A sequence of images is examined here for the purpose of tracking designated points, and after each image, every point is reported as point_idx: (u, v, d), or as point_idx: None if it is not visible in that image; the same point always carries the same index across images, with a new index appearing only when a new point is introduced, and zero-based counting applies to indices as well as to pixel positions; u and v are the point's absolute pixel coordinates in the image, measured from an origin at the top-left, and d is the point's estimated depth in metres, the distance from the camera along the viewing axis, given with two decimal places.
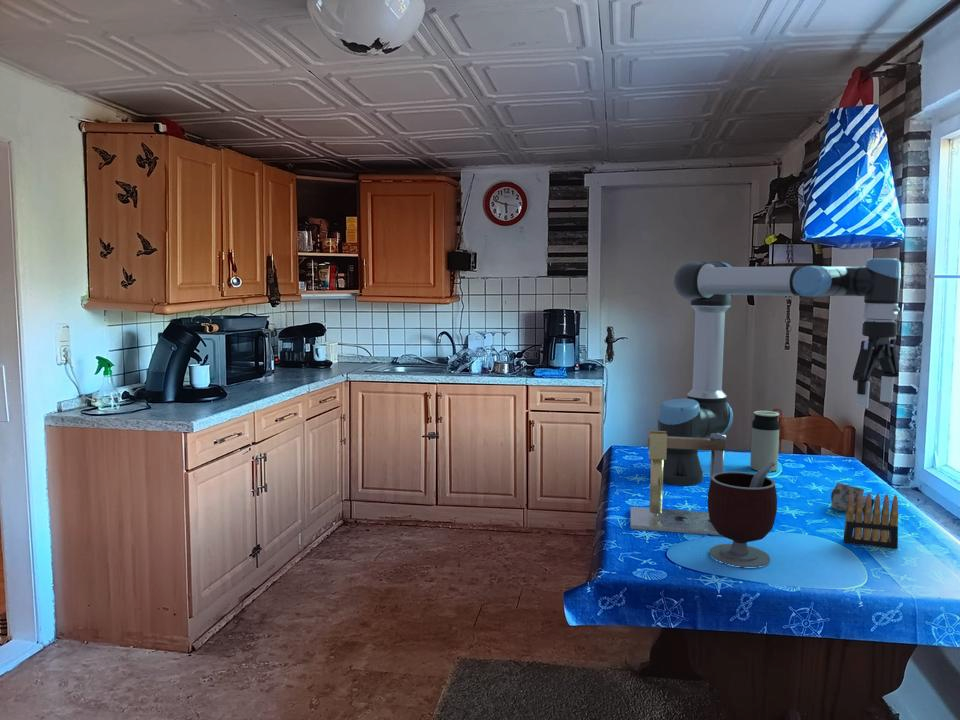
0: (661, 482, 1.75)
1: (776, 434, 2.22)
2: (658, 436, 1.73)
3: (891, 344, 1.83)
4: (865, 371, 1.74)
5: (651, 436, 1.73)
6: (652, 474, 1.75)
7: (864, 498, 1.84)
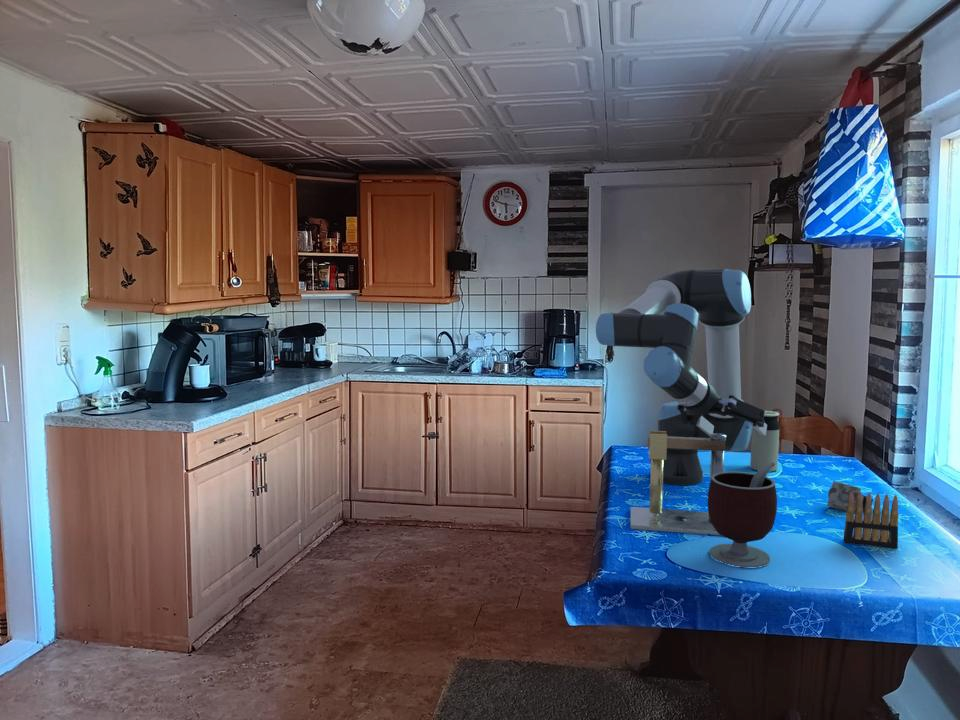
0: (661, 482, 1.75)
1: (776, 434, 2.22)
2: (658, 436, 1.73)
3: (728, 406, 1.58)
4: (684, 420, 1.72)
5: (651, 436, 1.73)
6: (652, 474, 1.75)
7: None
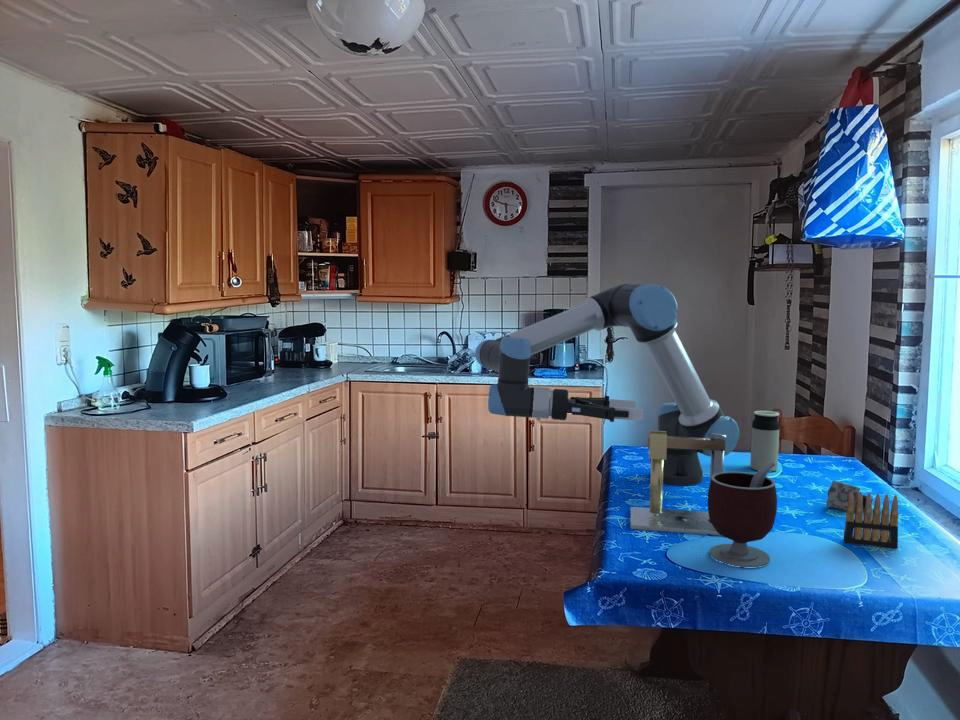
0: (661, 482, 1.75)
1: (776, 434, 2.22)
2: (658, 436, 1.73)
3: None
4: None
5: (651, 436, 1.73)
6: (652, 474, 1.75)
7: None
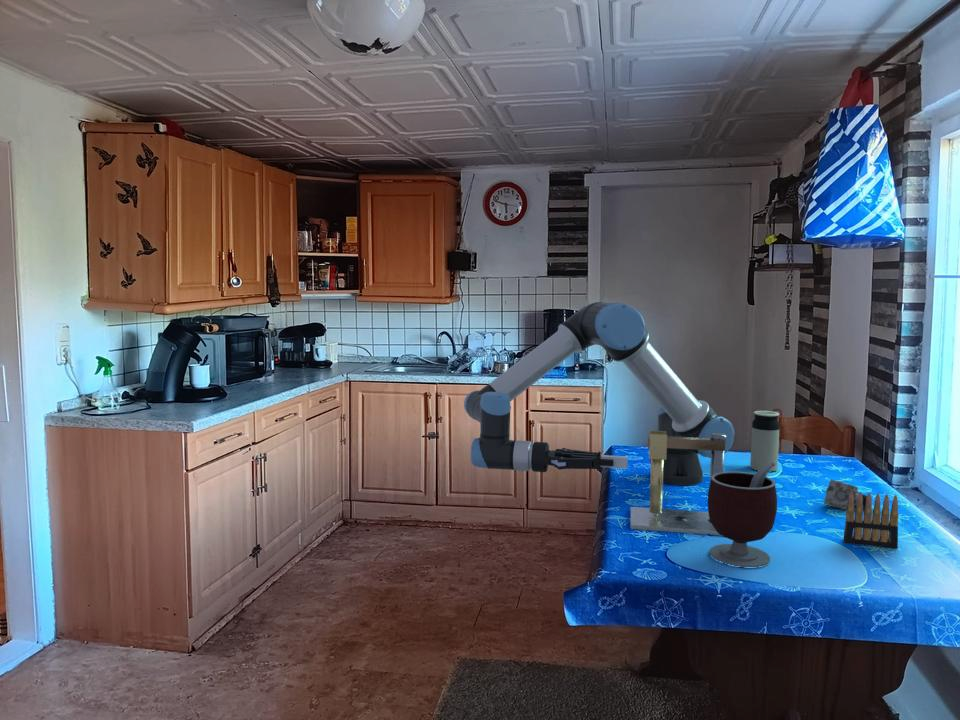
0: (661, 482, 1.75)
1: (776, 434, 2.22)
2: (658, 436, 1.73)
3: None
4: None
5: (651, 436, 1.73)
6: (652, 474, 1.75)
7: None
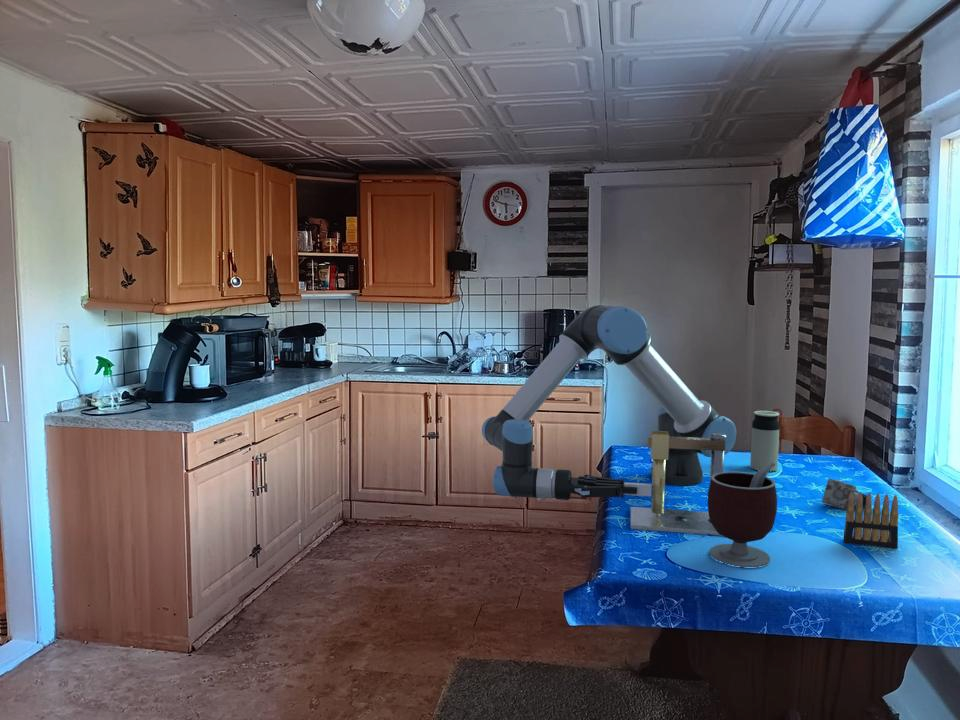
0: (663, 482, 1.75)
1: (776, 434, 2.22)
2: (660, 436, 1.72)
3: None
4: None
5: (653, 436, 1.73)
6: (654, 474, 1.75)
7: (857, 495, 1.86)
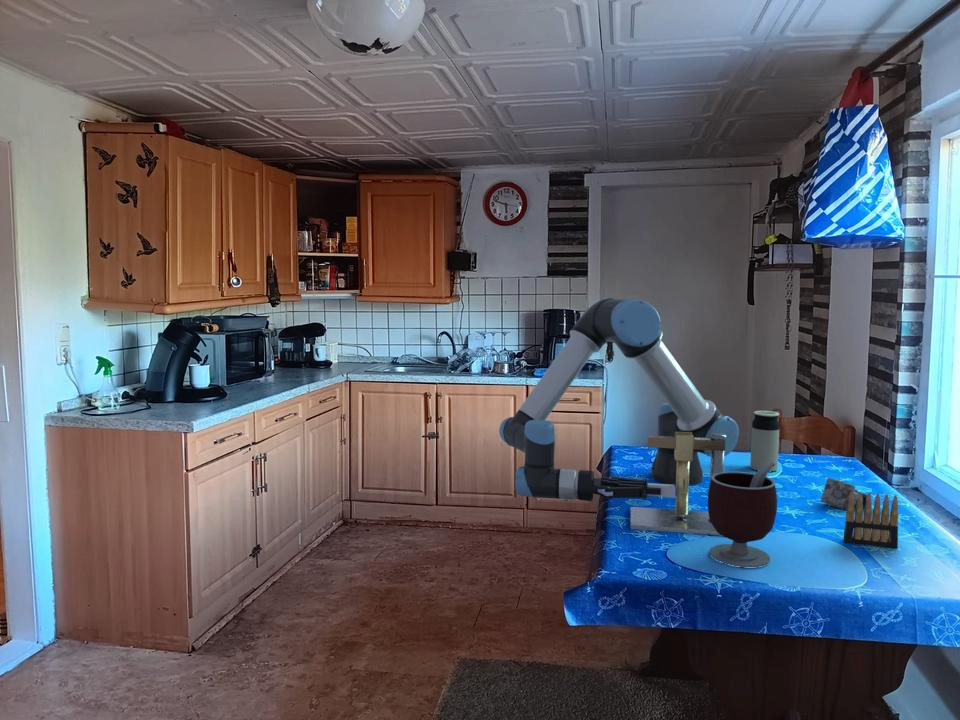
0: (687, 484, 1.74)
1: (776, 434, 2.22)
2: (684, 437, 1.71)
3: None
4: None
5: (677, 437, 1.72)
6: (678, 475, 1.74)
7: (856, 495, 1.86)
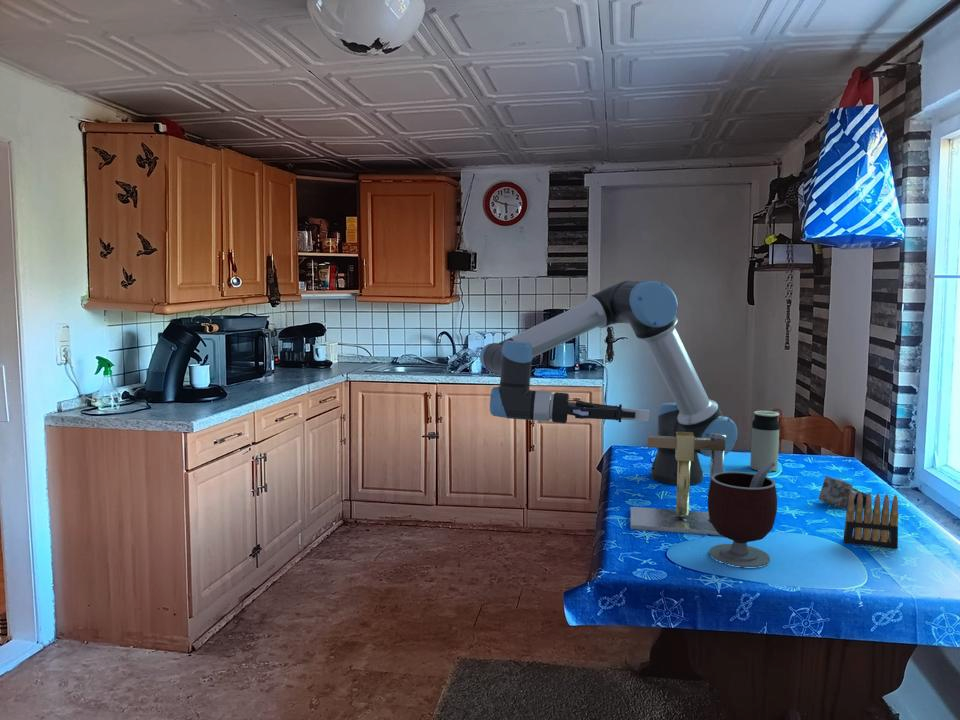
0: (688, 484, 1.73)
1: (776, 434, 2.22)
2: (685, 437, 1.71)
3: None
4: None
5: (678, 437, 1.72)
6: (679, 476, 1.74)
7: (853, 494, 1.87)
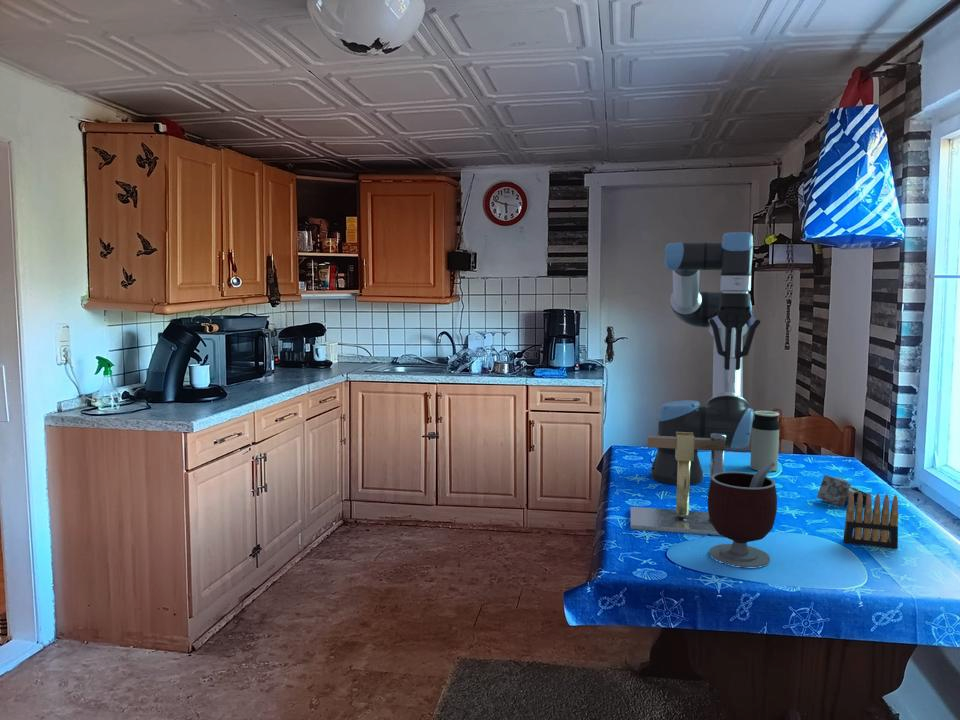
0: (688, 484, 1.73)
1: (776, 434, 2.22)
2: (685, 437, 1.71)
3: (753, 322, 1.86)
4: (719, 347, 1.88)
5: (678, 437, 1.72)
6: (679, 476, 1.74)
7: None
